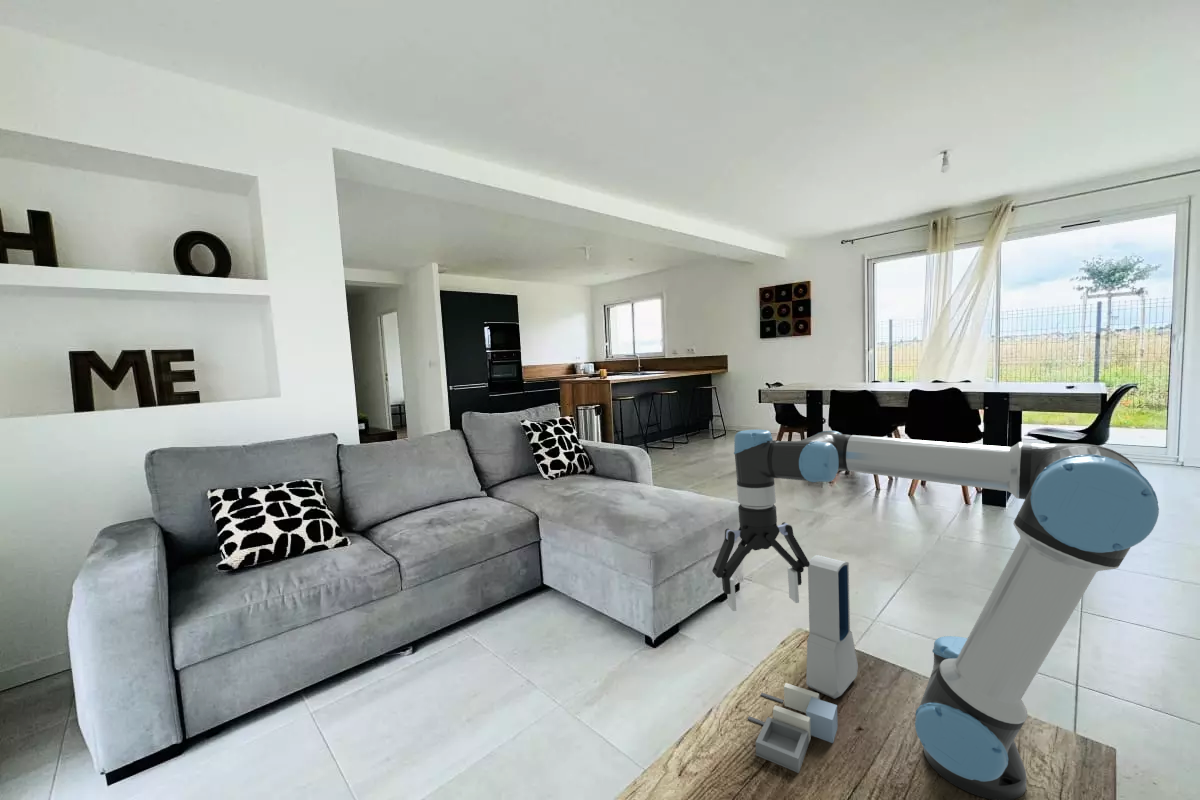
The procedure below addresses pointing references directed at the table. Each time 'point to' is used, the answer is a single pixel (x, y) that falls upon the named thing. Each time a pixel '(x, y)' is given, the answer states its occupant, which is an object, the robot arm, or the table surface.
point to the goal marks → (769, 698)
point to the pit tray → (782, 744)
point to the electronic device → (829, 628)
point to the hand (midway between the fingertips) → (763, 604)
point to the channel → (795, 707)
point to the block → (822, 719)
